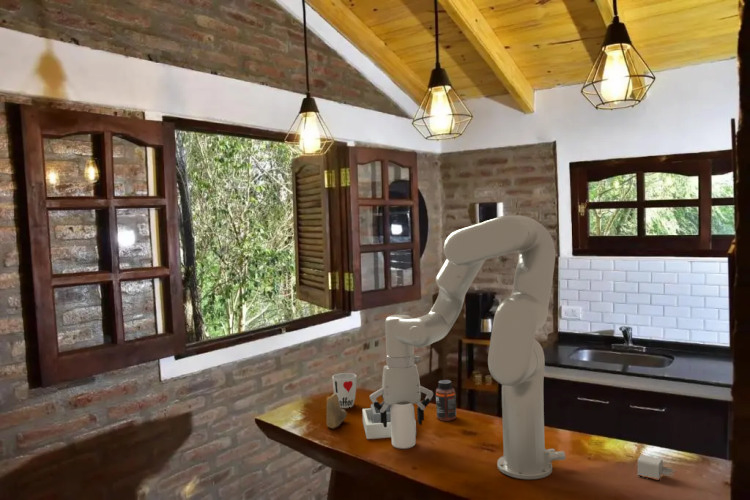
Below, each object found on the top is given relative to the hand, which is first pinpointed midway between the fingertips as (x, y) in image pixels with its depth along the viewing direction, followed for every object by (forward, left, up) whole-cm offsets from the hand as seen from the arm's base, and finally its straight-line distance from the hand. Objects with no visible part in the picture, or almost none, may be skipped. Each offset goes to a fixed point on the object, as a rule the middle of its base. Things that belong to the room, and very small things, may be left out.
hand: (402, 424), depth 147 cm
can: (0, 0, -6) cm, 6 cm away
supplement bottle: (-16, -18, -6) cm, 25 cm away
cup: (+14, -37, -6) cm, 40 cm away
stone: (+18, -19, -6) cm, 27 cm away
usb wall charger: (-53, +30, -6) cm, 61 cm away
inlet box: (+2, -13, -6) cm, 14 cm away
